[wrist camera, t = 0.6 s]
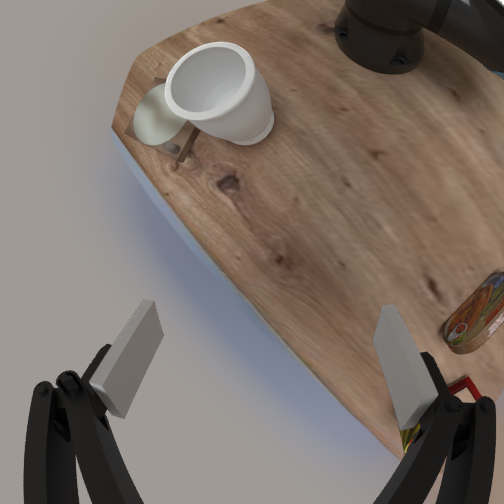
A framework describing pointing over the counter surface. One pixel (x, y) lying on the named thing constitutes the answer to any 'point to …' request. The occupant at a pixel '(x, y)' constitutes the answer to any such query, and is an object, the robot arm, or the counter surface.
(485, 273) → the counter surface
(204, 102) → the jar
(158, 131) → the seat board
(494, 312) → the tin
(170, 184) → the counter surface
